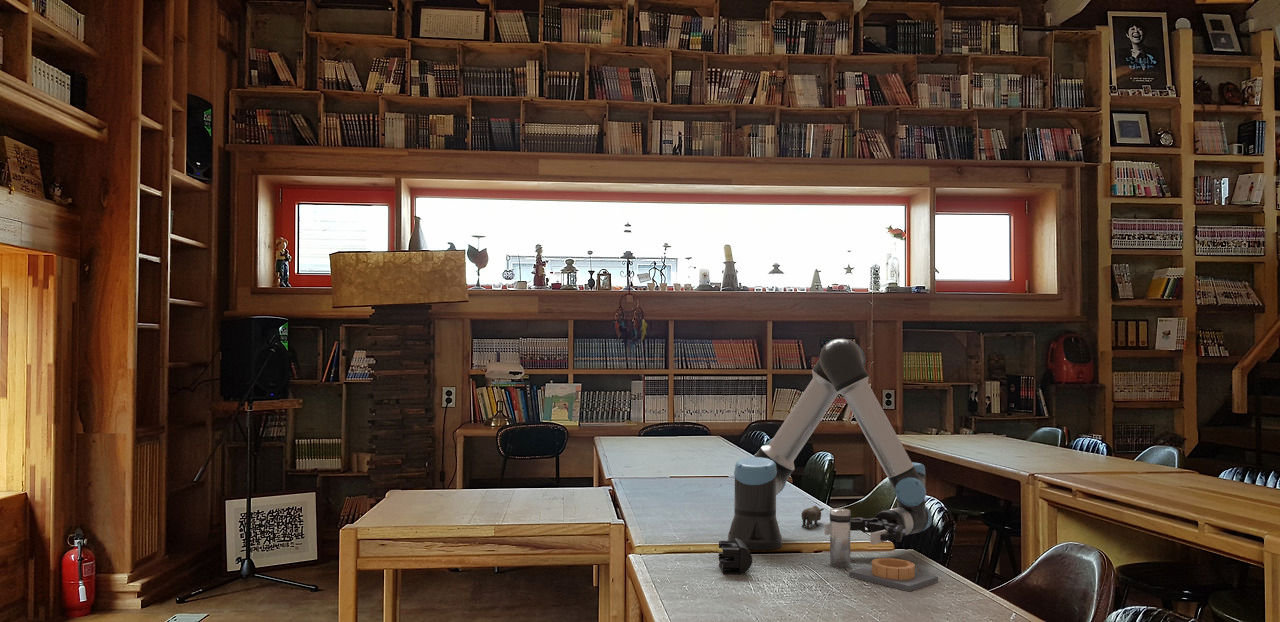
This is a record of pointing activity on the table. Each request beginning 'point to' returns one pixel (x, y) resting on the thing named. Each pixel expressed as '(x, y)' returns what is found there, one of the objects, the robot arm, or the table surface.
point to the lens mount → (894, 574)
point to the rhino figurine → (811, 516)
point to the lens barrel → (840, 538)
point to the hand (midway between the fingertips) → (848, 534)
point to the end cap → (734, 557)
